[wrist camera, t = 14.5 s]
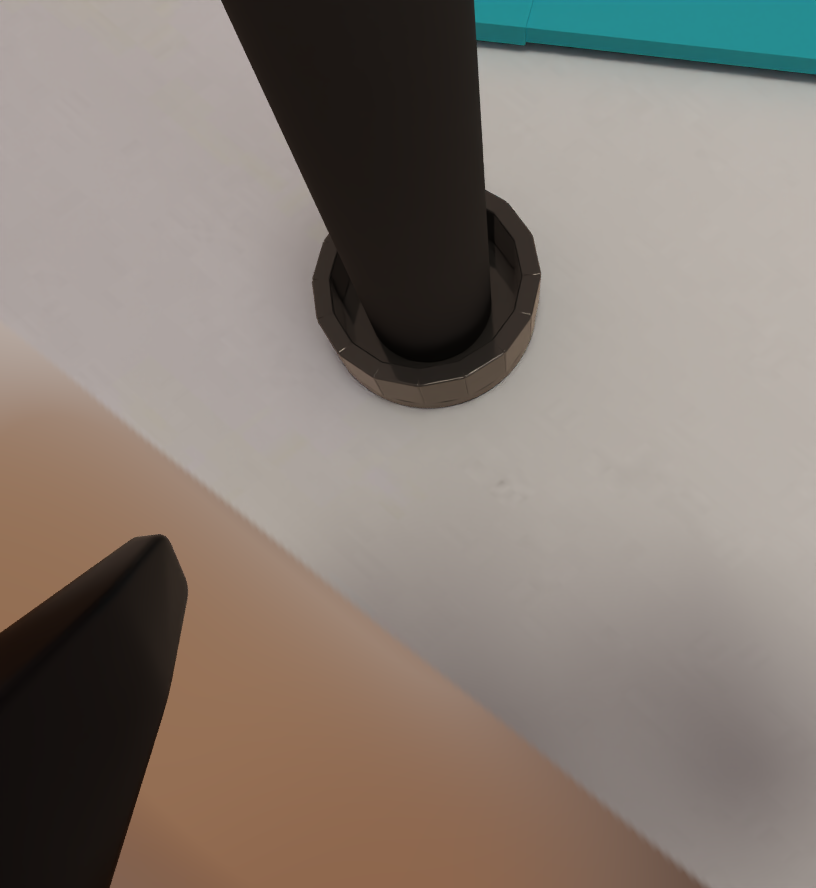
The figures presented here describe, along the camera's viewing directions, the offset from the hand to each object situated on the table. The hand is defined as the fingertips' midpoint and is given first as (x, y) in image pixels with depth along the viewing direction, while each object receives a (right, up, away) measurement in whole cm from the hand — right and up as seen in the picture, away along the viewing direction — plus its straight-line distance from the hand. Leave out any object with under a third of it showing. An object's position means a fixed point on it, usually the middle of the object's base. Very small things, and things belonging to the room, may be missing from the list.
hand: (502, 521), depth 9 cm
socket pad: (0, +6, +16) cm, 17 cm away
